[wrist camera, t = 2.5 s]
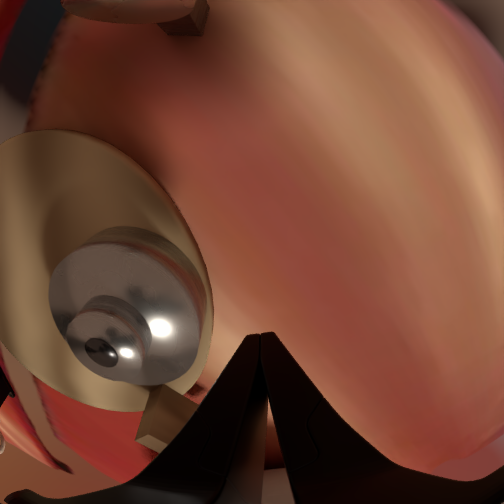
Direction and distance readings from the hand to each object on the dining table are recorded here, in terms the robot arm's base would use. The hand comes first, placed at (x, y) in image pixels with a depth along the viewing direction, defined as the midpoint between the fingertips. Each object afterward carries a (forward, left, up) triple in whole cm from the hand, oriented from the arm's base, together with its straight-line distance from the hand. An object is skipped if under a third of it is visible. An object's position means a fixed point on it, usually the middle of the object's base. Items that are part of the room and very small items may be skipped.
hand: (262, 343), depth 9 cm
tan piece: (-11, -4, -6) cm, 13 cm away
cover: (-6, -2, -4) cm, 7 cm away
